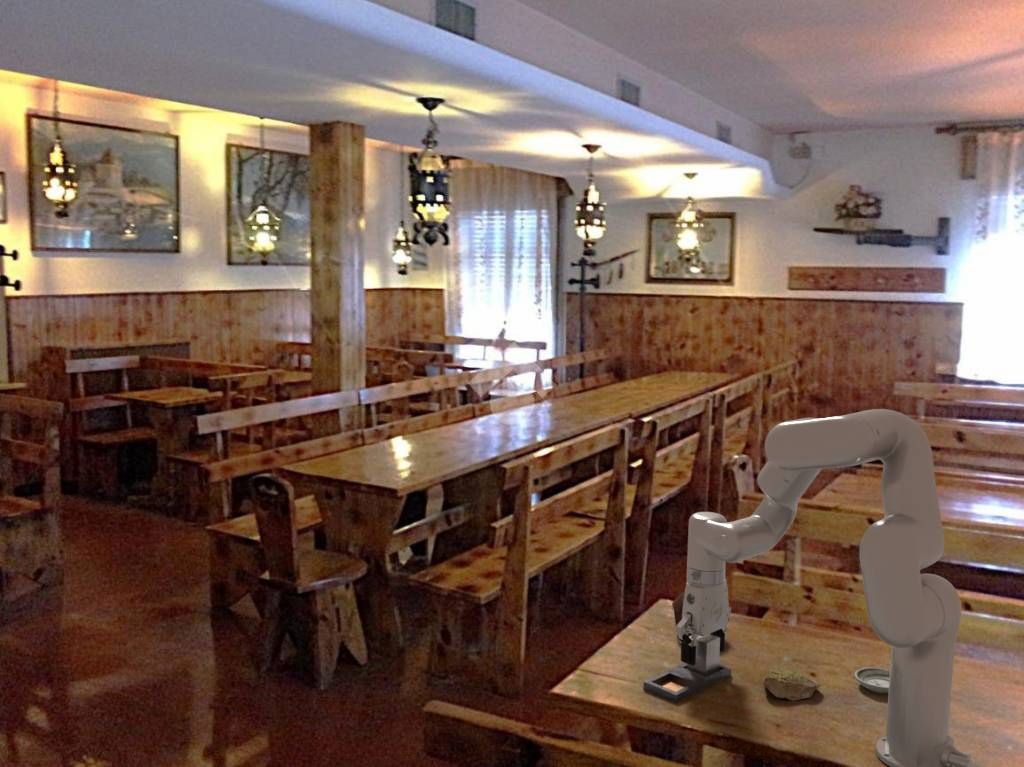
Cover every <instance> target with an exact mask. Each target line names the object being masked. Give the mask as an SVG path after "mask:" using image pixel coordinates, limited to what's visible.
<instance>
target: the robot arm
mask: <svg viewBox="0 0 1024 767" xmlns="http://www.w3.org/2000/svg"><path fill="white" fill-rule="evenodd" d="M931 447H932V446H931V444H930V441H929V439H928V436H927V434H926V432H925V431H924V429H923V428H922V427H921V426H920V424H919V423H917V422H916V421H915V420H914V419H913V418H911V417H909V416H908V415H906V414H904V413H902V412H900V411H896V410H892V409H886V408H875V409H867V410H862V411H858V412H852V413H848V414H843V415H837V416H830V417H829V416H828V417H824V418H817V417H804V418H798V419H793V420H787V421H783V422H781V423H778V424H776V425H775V426H774V427H772V429H770V431H768V433H767V435H766V438H765V442H764V451H765V455H766V458H767V461H766V463H765V465H764V466H763V467H762V468H761V470H760V471H759V473H758V475H757V478H756V479H757V484H758V486H759V488H760V490H761V491H762V492H763V493H764V495H765V496H764V497H763V499H762V501H761V502H760V503H759V505H758V506H757V507H756V509H755V511H754V512H753V513H752V514H751V515H750V516H748V517H744V518H740V519H738V520H734V521H729V522H728V521H727V518H726V517H725V516H724V515H722V514H721V513H717V512H712V511H699V512H695V513H692V514H691V516H690V517H689V519H688V528H687V529H688V531H687V532H688V534H687V535H688V536H687V559H686V560H687V562H686V583H685V588H684V591H685V594H684V601H683V611H682V620H681V621H680V622H679V623H678V625H677V626H676V625H675V627H674V629H675V632H676V636H677V639H678V640H679V641H678V642H679V643H680V644H681V645H680V662H682V663H687V664H690V665H692V666H693V665H695V663H696V646H695V645H694V644H695V641H696V639H697V637H698V635H699V636H705V635H708V634H711V635H714V636H717V637H720V653H723V652H725V640H726V632H727V630H728V628H727V626H728V623H729V622H730V615H731V614H732V607H731V606H729V591H728V584H727V582H728V581H727V579H726V565H727V564H726V563H729V564H736V563H739V562H743V561H746V560H749V559H752V558H754V557H756V556H760V555H762V554H766V553H768V552H769V551H771V550H773V548H774V547H775V546H777V544H778V543H779V542H780V540H781V539H782V538H783V537H784V535H785V534H786V532H788V530H790V528H791V525H792V524H793V523H794V520H795V518H796V516H797V511H798V506H799V500H800V499H801V498H802V496H803V495H804V494H805V492H806V491H807V490H808V488H809V487H810V485H811V484H812V483H813V481H814V480H815V479H816V478H817V476H818V475H819V474H820V472H821V471H822V470H825V469H827V470H828V469H838V468H840V469H841V468H849V467H855V466H858V465H859V466H860V465H863V464H866V463H869V462H874V461H877V460H880V461H881V463H882V464H883V466H882V469H883V470H882V474H881V480H880V491H881V496H882V502H883V518H882V519H879V520H877V521H875V522H874V523H872V524H870V525H869V526H868V528H866V530H865V531H864V533H863V535H862V538H861V541H860V543H859V544H860V546H859V560H860V568H861V576H862V577H861V578H862V583H863V590H864V597H865V605H866V611H867V617H868V619H869V620H868V621H869V622H870V626H871V628H872V630H873V631H874V633H875V635H877V637H878V638H879V639H880V640H882V641H883V643H885V644H887V645H888V646H891V653H890V664H889V670H890V677H889V693H888V694H887V695H888V696H887V697H888V698H887V713H886V714H887V717H886V729H885V730H886V733H885V736H883V737H880V738H879V739H878V740H877V742H876V744H875V754H876V756H877V757H878V758H879V760H880V761H881V762H882V763H884V764H885V765H887V766H889V767H973V760H972V759H971V754H970V753H969V752H966V751H963V750H960V749H957V748H956V746H955V738H954V737H953V736H950V735H949V731H950V730H949V727H950V726H949V725H950V712H951V711H950V710H951V698H952V685H953V684H952V683H953V682H952V681H953V680H952V679H953V672H954V671H953V669H954V659H955V658H954V657H955V649H956V643H957V642H956V641H957V637H958V634H959V628H960V625H961V624H960V623H961V618H962V601H961V597H960V595H959V593H958V590H957V589H956V588H955V587H954V585H953V584H952V583H951V582H950V581H948V580H947V579H946V578H944V577H942V576H940V575H938V574H933V573H921V571H922V570H923V569H926V568H928V567H930V566H931V565H934V564H935V563H936V562H938V561H939V560H940V559H941V558H942V556H943V554H944V551H945V546H946V545H945V535H944V529H943V528H944V527H943V522H942V516H941V515H942V514H941V509H940V502H939V501H940V500H939V496H938V490H937V483H936V476H935V466H934V458H933V452H932V448H931ZM693 628H694V630H693ZM689 633H691V634H692V637H691V639H690V638H689V637H688V634H689Z"/></svg>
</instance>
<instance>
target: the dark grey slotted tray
mask: <svg viewBox="0 0 1024 767" xmlns="http://www.w3.org/2000/svg"><path fill="white" fill-rule="evenodd" d="M687 665H688V664H687V663H685V662H683V663H682V664H679V665H677V666H675V667H673V668H670V669H668V670H666V671H664V672H662V673H659V674H657V675H655V676H652V677H651V678H649V679H646V680H644V681H643V690H645V691H647V692H650V693H653V694H655V695H658V696H659V697H661V698H664V699H667V700H669V701H672V702H674V703H679V702H680V701H682V700H684V699H686V698H689V697H691V696H693V695H695V694H696V693H699V692H701V691H703V690H704V689H707V688H710V687H711V686H713V685H715V684H717V683H718V682H721V681H723V680H725V679H727V678H729V677H730V676H732V668H731V667H729V666H726V665H723V664H720V663H719V671H718V672H716V673H714V674H711V675H709V676H707V677H706V676H703V675H701V674H698V673H695V672H693V671H690V670H688V669H687Z"/></svg>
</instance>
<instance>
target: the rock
mask: <svg viewBox="0 0 1024 767" xmlns="http://www.w3.org/2000/svg"><path fill="white" fill-rule="evenodd" d="M762 685H763V686H765V688H766V689H767V690H768V691H769V692H770V693H771V694H772V695H773V696H774V697H776V698H779V699H784V698H785V699H787V700H789V701H793V702H795V701H800V700H803V699H804V700H805V699H807V698H808V699H809V698H811V697H812V696H813V695H814V692H815V691H816V690H818V688H819V687H821V684H820V683H819V682H818V681H816V680H814V679H812V678H810V677H808V676H807V675H804V674H802V673H800V672H799V671H796V670H794V669H790V668H788V669H787V668H782V669H780V668H774V669H772V670H771V671H769V672H768V673H767V675H766V677H764V678H763V679H762Z"/></svg>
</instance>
